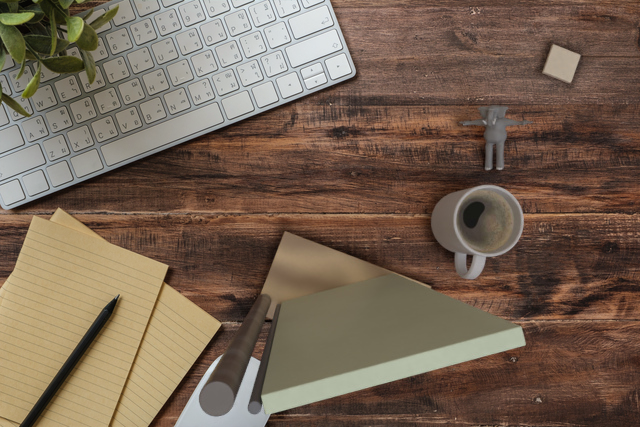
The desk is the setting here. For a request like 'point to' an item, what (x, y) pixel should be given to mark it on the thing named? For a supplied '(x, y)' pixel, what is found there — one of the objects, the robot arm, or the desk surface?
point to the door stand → (281, 284)
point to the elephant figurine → (494, 132)
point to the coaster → (561, 64)
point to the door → (369, 340)
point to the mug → (477, 225)
